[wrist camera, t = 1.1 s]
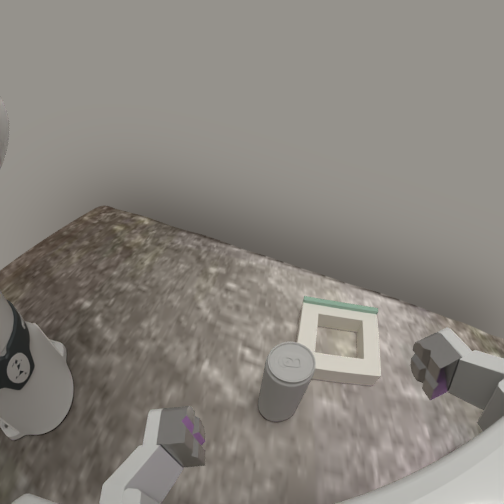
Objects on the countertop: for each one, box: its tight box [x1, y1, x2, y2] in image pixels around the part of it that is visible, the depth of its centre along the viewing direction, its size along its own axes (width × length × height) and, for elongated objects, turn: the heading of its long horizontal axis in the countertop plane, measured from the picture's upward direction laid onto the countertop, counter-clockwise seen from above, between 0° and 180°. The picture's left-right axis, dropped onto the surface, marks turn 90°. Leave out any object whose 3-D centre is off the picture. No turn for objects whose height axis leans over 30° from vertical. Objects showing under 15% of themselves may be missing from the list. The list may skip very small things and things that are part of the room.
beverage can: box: [258, 342, 316, 422], centre depth 29 cm, size 5×5×12 cm
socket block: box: [296, 296, 381, 386], centre depth 39 cm, size 12×12×4 cm
